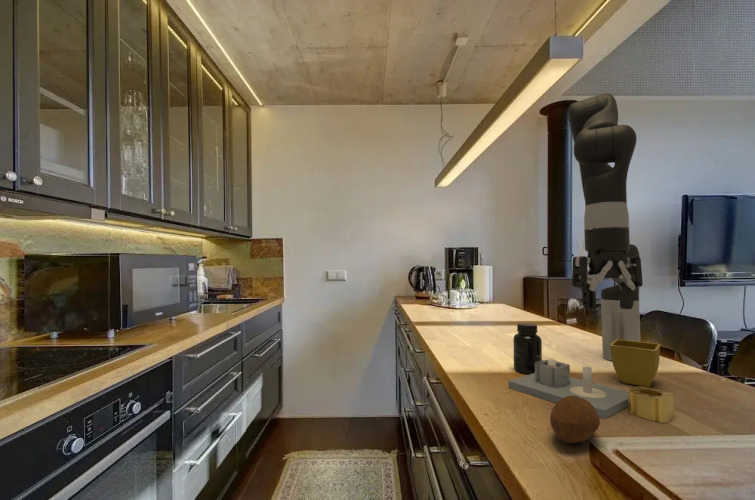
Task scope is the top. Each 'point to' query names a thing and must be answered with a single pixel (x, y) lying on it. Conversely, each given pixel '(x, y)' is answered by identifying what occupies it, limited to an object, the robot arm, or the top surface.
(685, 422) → the top surface
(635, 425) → the top surface
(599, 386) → the pegboard
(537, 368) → the steel gear
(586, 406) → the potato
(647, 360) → the flower pot
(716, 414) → the top surface
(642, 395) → the brass gear
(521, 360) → the supplement bottle
